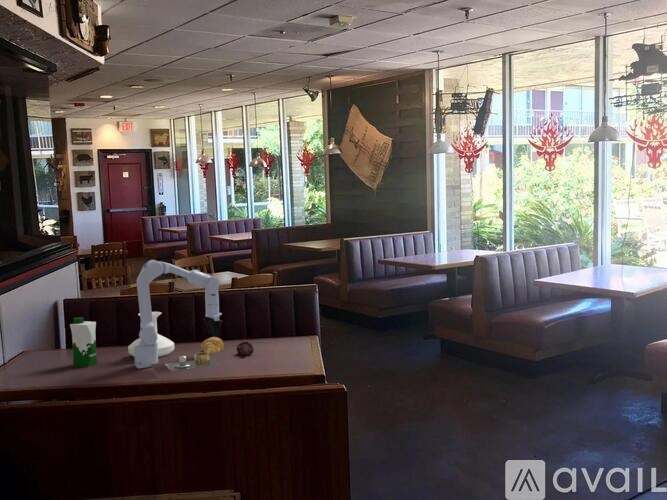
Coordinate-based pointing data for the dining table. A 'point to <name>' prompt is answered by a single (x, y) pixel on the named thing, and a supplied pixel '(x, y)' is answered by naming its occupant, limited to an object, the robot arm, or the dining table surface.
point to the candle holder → (162, 342)
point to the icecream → (245, 348)
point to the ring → (201, 357)
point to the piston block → (189, 364)
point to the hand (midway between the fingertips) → (213, 335)
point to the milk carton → (83, 342)
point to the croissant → (212, 345)
